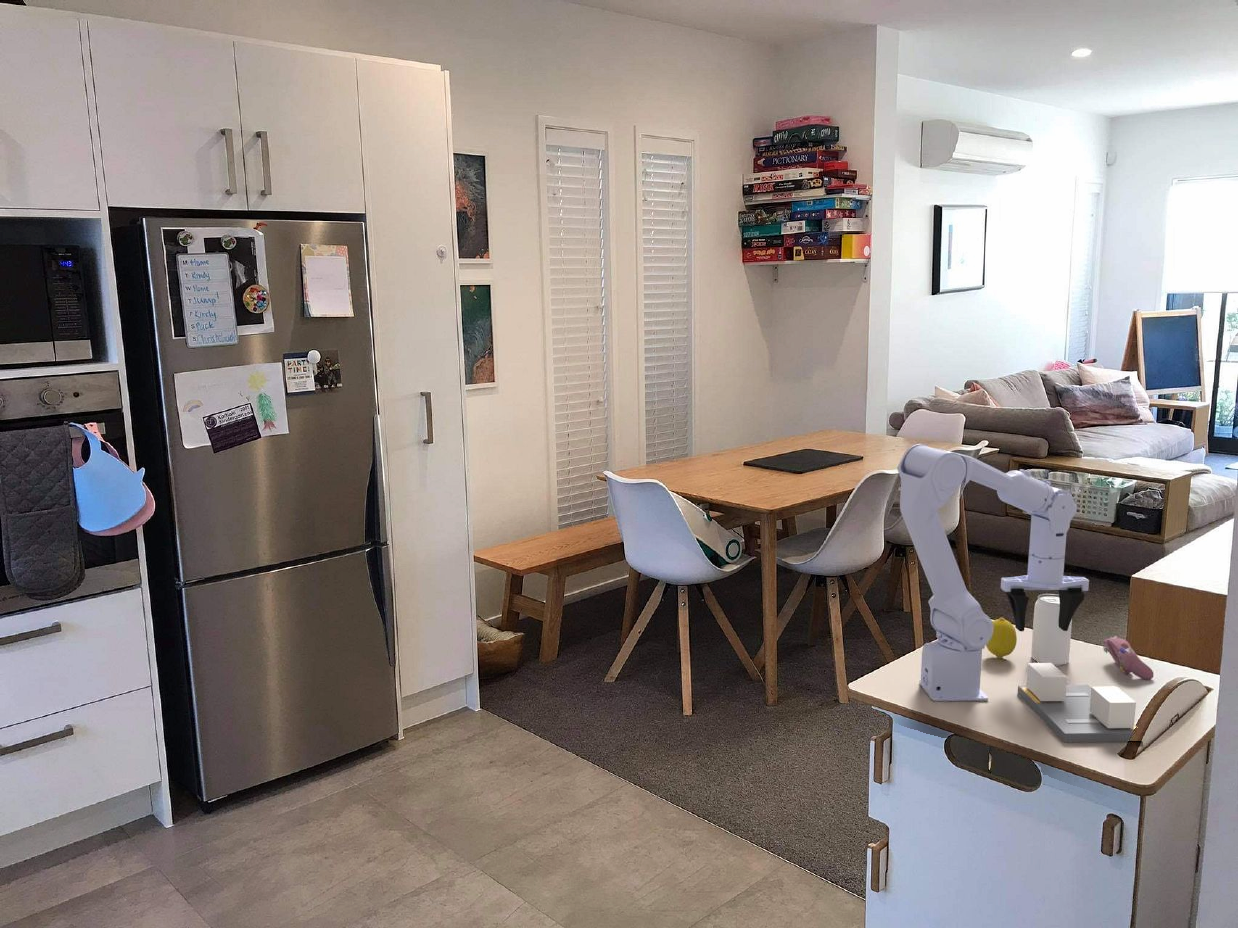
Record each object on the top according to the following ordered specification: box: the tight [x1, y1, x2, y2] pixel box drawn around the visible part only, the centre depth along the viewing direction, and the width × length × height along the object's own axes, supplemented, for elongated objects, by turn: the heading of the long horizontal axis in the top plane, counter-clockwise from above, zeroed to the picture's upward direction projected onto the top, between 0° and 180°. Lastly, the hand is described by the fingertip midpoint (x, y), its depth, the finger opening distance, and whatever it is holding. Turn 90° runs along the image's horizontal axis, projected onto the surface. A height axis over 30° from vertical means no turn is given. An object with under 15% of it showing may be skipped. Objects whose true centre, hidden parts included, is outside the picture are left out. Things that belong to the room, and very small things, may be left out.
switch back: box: [1025, 662, 1068, 701], centre depth 163 cm, size 4×6×4 cm, turn 0°
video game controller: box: [1103, 635, 1154, 681], centre depth 177 cm, size 10×5×7 cm, turn 175°
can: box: [1030, 593, 1073, 666], centre depth 181 cm, size 6×6×12 cm
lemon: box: [985, 617, 1018, 659], centre depth 183 cm, size 6×6×8 cm
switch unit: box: [1017, 684, 1137, 743], centre depth 159 cm, size 12×18×2 cm, turn 0°
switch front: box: [1089, 686, 1137, 728], centre depth 153 cm, size 4×6×4 cm, turn 0°
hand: (1041, 629), depth 172 cm, fingers open, 7 cm apart
